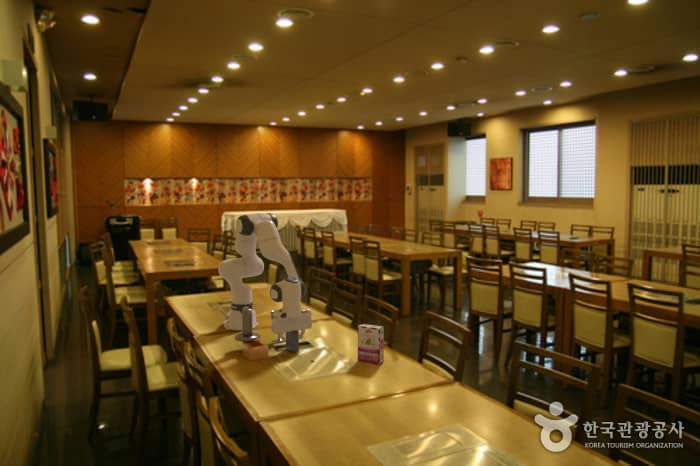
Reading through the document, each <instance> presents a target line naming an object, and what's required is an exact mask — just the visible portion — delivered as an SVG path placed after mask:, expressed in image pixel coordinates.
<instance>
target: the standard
mask: <svg viewBox="0 0 700 466" xmlns="http://www.w3.org/2000/svg"><path fill="white" fill-rule="evenodd" d="M241 331H242V332H241V333H237V334H236V335H234V340H235V341H238V342H241V343H242V344H241V345H242V355H243V356H245V357H246V358H247V359H248V360H249V361H255V360H263V359H266V358H269V345H268V344H266V343H265V342H263V341H262V340H261V334H259V332H258V333H257V332H254V331H253V329H252V309H251V308H244V309H242V330H241Z"/></svg>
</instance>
